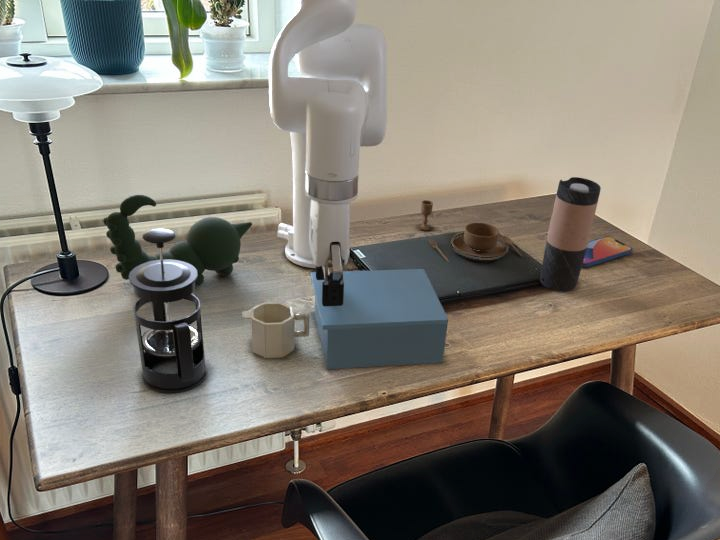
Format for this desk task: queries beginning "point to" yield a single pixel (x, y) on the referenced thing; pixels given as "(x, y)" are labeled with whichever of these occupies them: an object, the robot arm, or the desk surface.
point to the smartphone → (604, 250)
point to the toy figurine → (201, 249)
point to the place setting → (472, 239)
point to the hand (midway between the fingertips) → (329, 291)
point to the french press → (168, 337)
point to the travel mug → (569, 233)
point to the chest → (382, 345)
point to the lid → (381, 300)
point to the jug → (274, 329)
